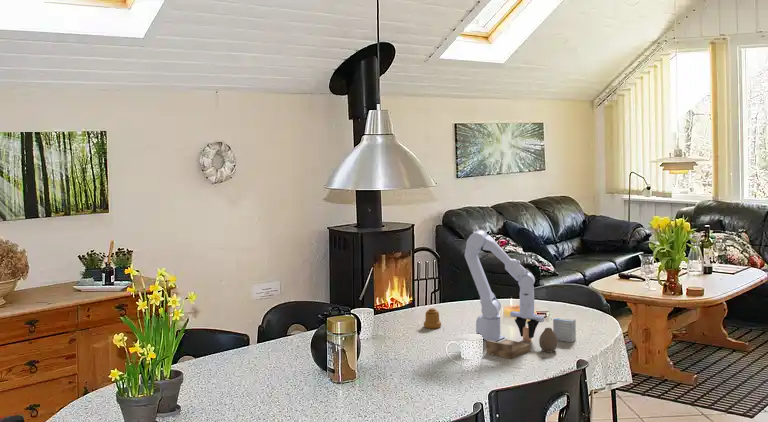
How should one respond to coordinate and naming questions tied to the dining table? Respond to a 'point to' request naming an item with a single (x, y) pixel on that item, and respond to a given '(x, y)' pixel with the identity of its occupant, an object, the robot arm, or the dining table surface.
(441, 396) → the dining table surface
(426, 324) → the ornamental finial
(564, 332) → the medicine box
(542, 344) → the vase
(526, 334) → the peach rounded cylinder
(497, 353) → the brown wooden box
